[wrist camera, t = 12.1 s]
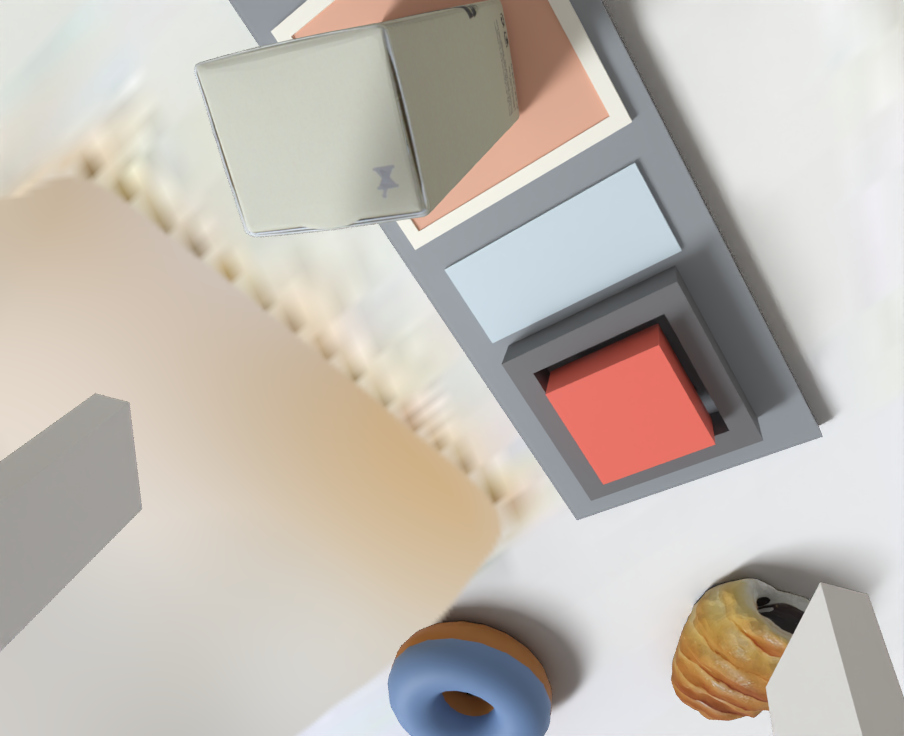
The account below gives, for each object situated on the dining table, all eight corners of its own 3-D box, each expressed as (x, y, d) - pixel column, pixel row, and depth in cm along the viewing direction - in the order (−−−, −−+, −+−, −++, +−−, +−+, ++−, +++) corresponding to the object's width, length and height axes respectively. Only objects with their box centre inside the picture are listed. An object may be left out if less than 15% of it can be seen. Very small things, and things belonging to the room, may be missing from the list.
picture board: (206, -49, 28) (169, -51, 26) (453, -290, 23) (433, -318, 21) (578, 510, 37) (573, 544, 35) (818, 426, 32) (832, 460, 30)
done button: (550, 371, 31) (545, 394, 30) (657, 323, 29) (658, 344, 27) (605, 458, 33) (603, 484, 31) (711, 418, 31) (715, 444, 29)
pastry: (748, 709, 41) (757, 772, 38) (639, 661, 41) (638, 720, 38) (847, 608, 36) (866, 670, 33) (722, 554, 37) (729, 611, 33)
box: (504, -5, 26) (399, 11, 15) (522, 122, 28) (441, 219, 17) (368, 25, 27) (181, 59, 16) (394, 143, 29) (242, 245, 18)
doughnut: (436, 734, 48) (423, 798, 44) (370, 622, 45) (349, 679, 41) (577, 707, 45) (577, 773, 41) (517, 585, 42) (510, 643, 38)
